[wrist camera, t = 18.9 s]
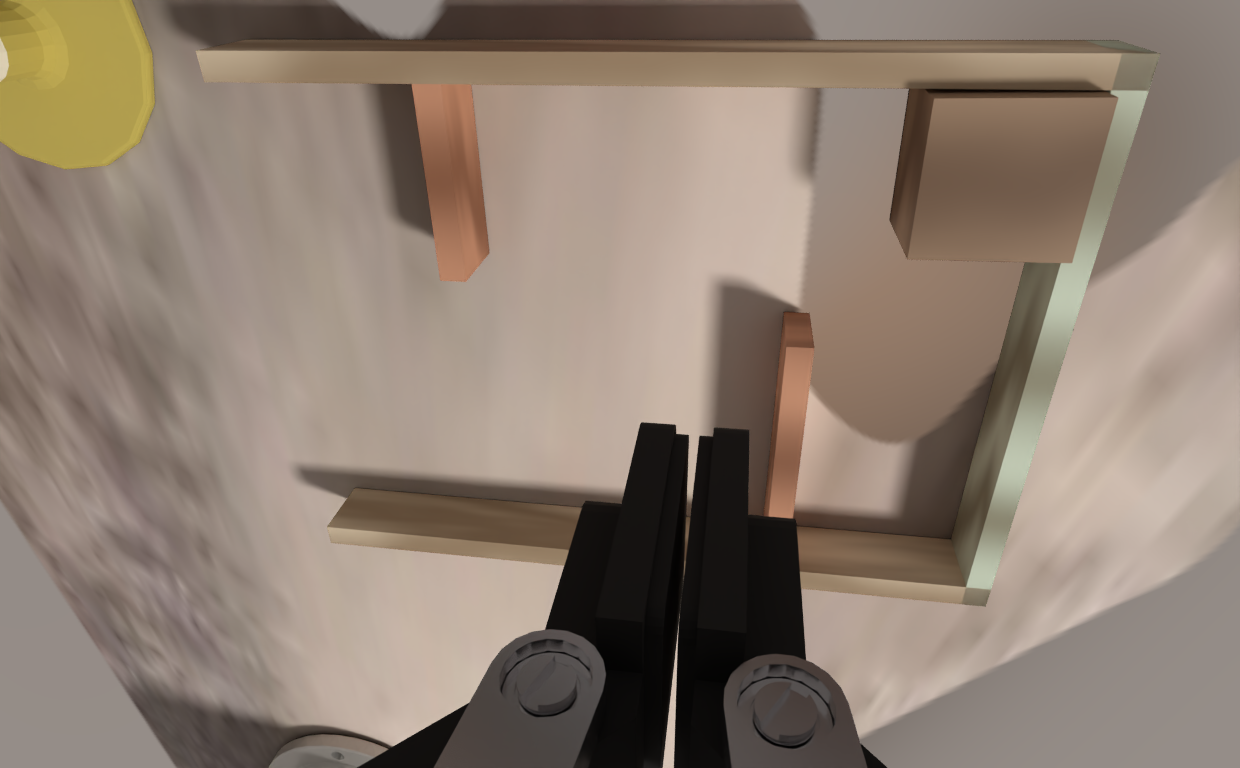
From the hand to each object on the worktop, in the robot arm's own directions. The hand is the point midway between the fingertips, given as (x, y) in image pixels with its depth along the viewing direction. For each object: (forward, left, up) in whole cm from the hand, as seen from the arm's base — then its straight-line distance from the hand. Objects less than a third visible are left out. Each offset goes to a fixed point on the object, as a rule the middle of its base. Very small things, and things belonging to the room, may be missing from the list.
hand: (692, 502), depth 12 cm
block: (+1, -8, -19) cm, 21 cm away
